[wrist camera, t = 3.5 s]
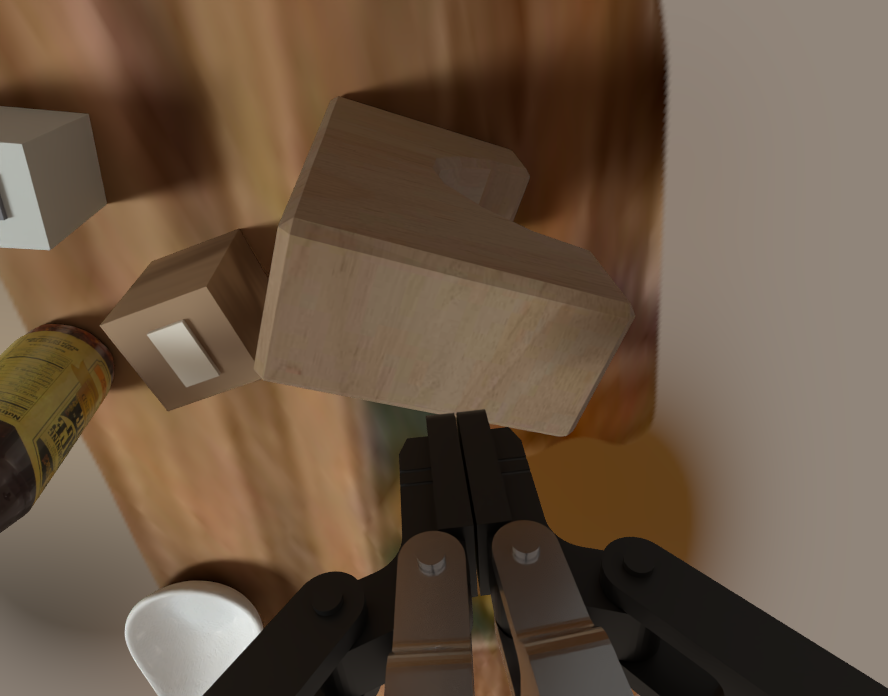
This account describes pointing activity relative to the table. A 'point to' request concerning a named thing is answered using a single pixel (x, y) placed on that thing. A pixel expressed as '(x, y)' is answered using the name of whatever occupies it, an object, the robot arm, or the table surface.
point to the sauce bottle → (45, 408)
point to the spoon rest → (190, 635)
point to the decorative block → (431, 281)
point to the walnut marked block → (193, 321)
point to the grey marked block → (46, 176)
